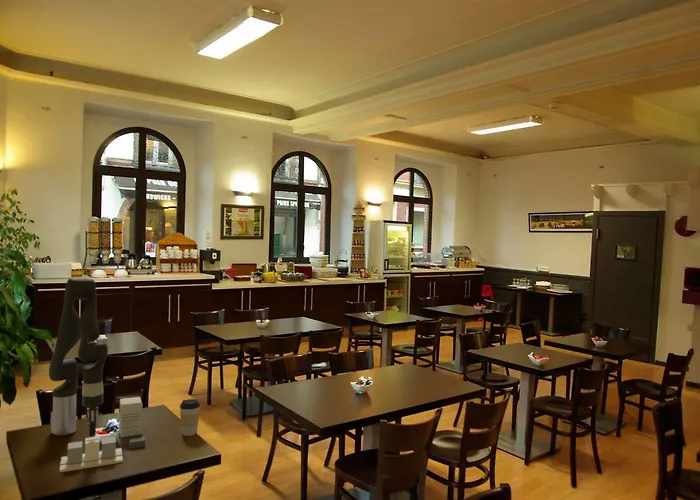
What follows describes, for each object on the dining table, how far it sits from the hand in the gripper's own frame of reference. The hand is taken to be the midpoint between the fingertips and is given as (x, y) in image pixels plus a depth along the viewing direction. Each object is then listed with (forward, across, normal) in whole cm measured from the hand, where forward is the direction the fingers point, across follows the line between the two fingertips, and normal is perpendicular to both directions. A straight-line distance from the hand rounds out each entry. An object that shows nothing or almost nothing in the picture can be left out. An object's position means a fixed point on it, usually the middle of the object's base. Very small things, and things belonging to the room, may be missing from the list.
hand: (92, 435), depth 203 cm
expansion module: (+9, 0, 0) cm, 9 cm away
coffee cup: (+11, -14, +40) cm, 44 cm away
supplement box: (+10, -25, +15) cm, 31 cm away
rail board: (+10, 0, 0) cm, 10 cm away
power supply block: (+11, -9, +17) cm, 22 cm away
